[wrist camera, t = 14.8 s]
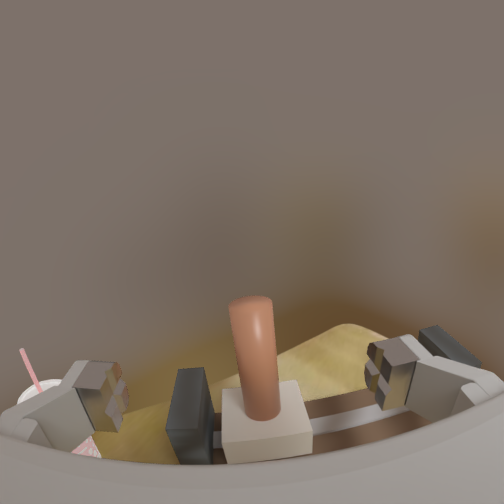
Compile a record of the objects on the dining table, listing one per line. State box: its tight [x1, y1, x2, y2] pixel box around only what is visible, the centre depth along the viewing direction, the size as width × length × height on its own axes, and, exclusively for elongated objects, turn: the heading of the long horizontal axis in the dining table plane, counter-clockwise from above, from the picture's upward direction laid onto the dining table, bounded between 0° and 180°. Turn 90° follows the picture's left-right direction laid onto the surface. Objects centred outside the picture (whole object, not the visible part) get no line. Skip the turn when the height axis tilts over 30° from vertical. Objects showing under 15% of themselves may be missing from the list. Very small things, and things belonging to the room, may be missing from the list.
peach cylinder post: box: [222, 296, 313, 464], centre depth 23 cm, size 7×7×13 cm
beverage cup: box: [17, 348, 101, 458], centre depth 21 cm, size 6×6×14 cm
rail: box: [165, 325, 482, 465], centre depth 25 cm, size 27×8×8 cm, turn 94°
